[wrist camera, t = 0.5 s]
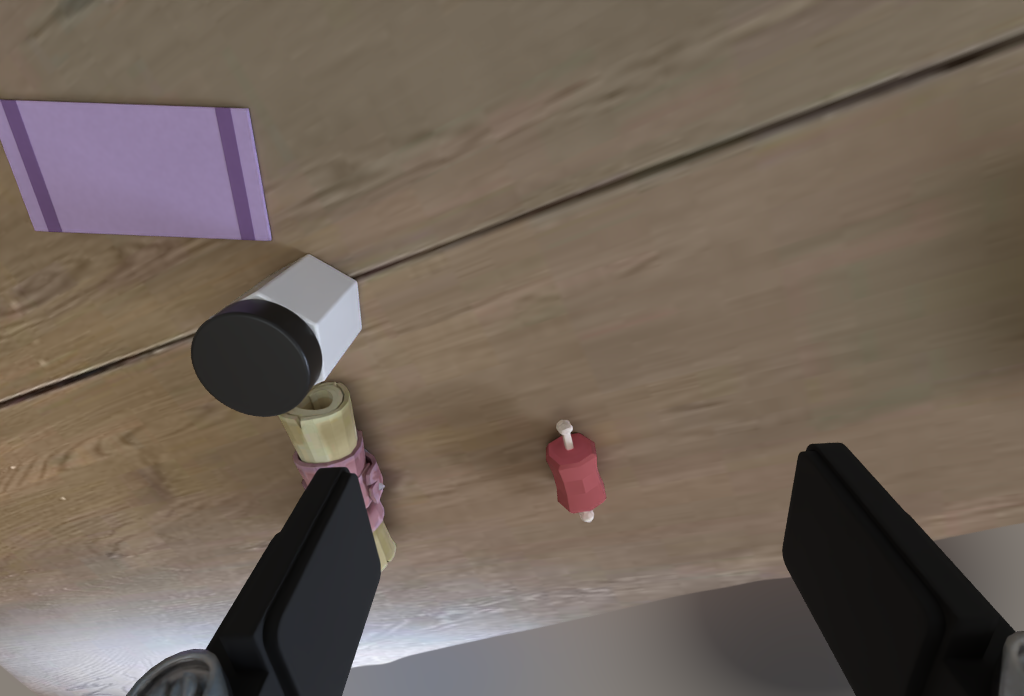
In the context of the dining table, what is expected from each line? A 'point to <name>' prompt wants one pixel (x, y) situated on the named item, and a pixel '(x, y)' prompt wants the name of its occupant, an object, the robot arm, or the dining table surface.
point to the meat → (575, 471)
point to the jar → (278, 338)
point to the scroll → (337, 451)
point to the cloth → (136, 169)
